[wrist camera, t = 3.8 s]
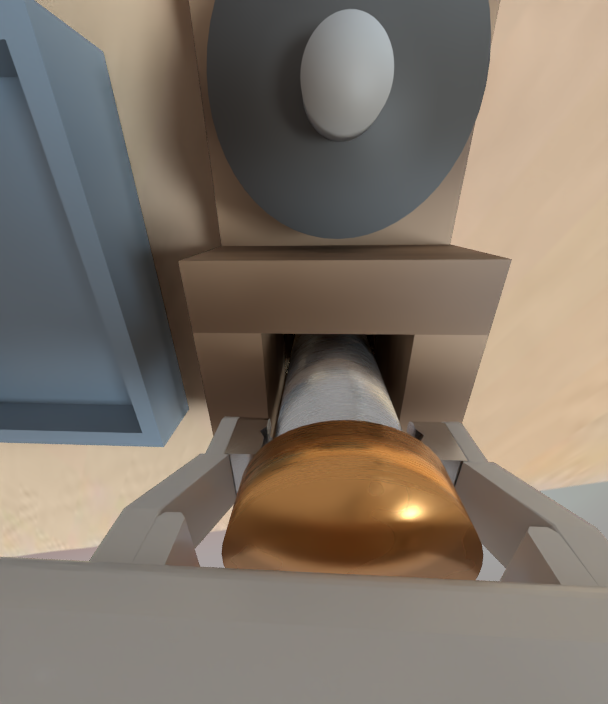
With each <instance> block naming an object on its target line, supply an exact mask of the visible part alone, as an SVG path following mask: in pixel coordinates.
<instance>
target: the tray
mask: <svg viewBox="0 0 608 704" xmlns="http://www.w3.org/2000/svg"><path fill="white" fill-rule="evenodd" d="M188 410H189V407H188V403H187V399H186V395H185V390H184V386H183V382H182V378H181V374H180V370H179V365H178V361H177V357H176V353H175V349H174V345H173V340H172V336H171V332H170V328H169V324H168V320H167V316H166V311H165V307H164V303H163V299H162V295H161V291H160V286H159V282H158V278H157V274H156V270H155V266H154V261H153V257H152V253H151V249H150V245H149V241H148V236H147V232H146V228H145V224H144V220H143V216H142V211H141V207H140V203H139V199H138V195H137V191H136V186H135V182H134V178H133V174H132V170H131V166H130V161H129V157H128V153H127V149H126V145H125V141H124V136H123V132H122V128H121V124H120V120H119V116H118V111H117V107H116V103H115V99H114V95H113V91H112V87H111V82H110V78H109V74H108V70H107V66H106V62H105V57H104V53H103V51H101V50H100V49H99V48H97V47H96V46H95V45H93V44H92V43H91V42H89V41H88V40H87V39H85V38H84V37H83V36H81V35H80V34H79V33H77V32H76V31H75V30H73V29H72V28H71V27H69V26H68V25H67V24H65V23H64V22H63V21H61V20H60V19H59V18H57V17H56V16H55V15H53V14H52V13H51V12H49V11H48V10H47V9H45V8H44V7H42V6H41V5H40V4H38V3H37V2H36V1H34V0H0V442H6V443H41V444H77V445H112V446H147V447H164V446H165V445H166V443H167V442H168V440H169V438H170V437H171V435H172V434H173V432H174V431H175V429H176V428H177V426H178V425H179V423H180V422H181V420H182V419H183V417H184V416H185V414H186V413H187V411H188Z"/></svg>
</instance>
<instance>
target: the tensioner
mask: <svg viewBox="0 0 608 704" xmlns="http://www.w3.org/2000/svg"><path fill="white" fill-rule="evenodd" d="M499 4H500V0H189V7H190V14H191V22H192V29H193V37H194V44H195V52H196V59H197V67H198V74H199V82H200V89H201V96H202V104H203V111H204V119H205V126H206V134H207V141H208V149H209V156H210V164H211V171H212V179H213V186H214V194H215V201H216V209H217V216H218V224H219V231H220V239H221V247H218V248H215V249H212V250H209V251H206V252H203V253H200V254H197V255H194V256H191V257H188V258H185V259H182V260H180V261H178V263H179V268H180V273H181V278H182V283H183V288H184V293H185V298H186V303H187V308H188V313H189V318H190V323H191V327H192V332H193V337H194V342H195V347H196V352H197V357H198V362H199V367H200V372H201V377H202V382H203V387H204V392H205V397H206V401H207V406H208V411H209V416H210V421H211V426H212V431H213V436H214V434H215V432H216V430H217V428H218V426H219V424H220V422H221V420H222V419H223V418H224V417H225V416H226V417H254V418H270V420H271V427H272V428H271V433H270V436H271V438H272V440H273V439H274V438H275V433H276V428H277V423H278V418H279V413H280V408H281V403H282V398H283V393H284V388H285V382H286V377H287V376H285V358H284V337H283V334H376V340H375V349H374V357H375V360H376V363H377V365H378V368H379V371H380V373H381V376H382V378H383V381H384V384H385V386H386V389H387V391H388V394H389V397H390V399H391V402H392V405H393V407H394V410H395V412H396V415H397V418H398V420H399V423H400V425H401V428H402V431H403V432H405V433H407V426H408V424H409V422H460V423H462V421H463V418H464V415H465V412H466V408H467V405H468V402H469V398H470V395H471V392H472V389H473V385H474V382H475V379H476V375H477V372H478V369H479V366H480V362H481V359H482V356H483V352H484V349H485V346H486V342H487V339H488V336H489V333H490V329H491V326H492V323H493V319H494V316H495V313H496V310H497V306H498V303H499V300H500V296H501V293H502V290H503V287H504V283H505V280H506V277H507V273H508V270H509V267H510V264H511V260H512V259H508V258H504V257H500V256H496V255H491V254H487V253H483V252H479V251H475V250H471V249H467V248H462V247H458V246H454V245H450V242H451V238H452V233H453V228H454V223H455V218H456V213H457V208H458V204H459V199H460V194H461V189H462V184H463V179H464V174H465V169H466V165H467V160H468V155H469V150H470V145H471V140H472V135H473V131H474V126H475V121H476V118H477V115H478V113H479V110H480V106H481V102H482V99H483V95H484V91H485V87H486V81H487V75H488V69H489V62H490V48H491V43H492V38H493V33H494V29H495V24H496V19H497V14H498V9H499Z"/></svg>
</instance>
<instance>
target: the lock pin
mask: <svg viewBox="0 0 608 704" xmlns="http://www.w3.org/2000/svg"><path fill="white" fill-rule="evenodd" d="M222 558H223V564H224V566H225V568H235V569H255V570H275V571H295V572H315V573H336V574H356V575H377V576H397V577H418V578H438V579H458V580H476V578H477V577H478V575H479V572H480V570H481V567H482V561H483V550H482V544H481V541H480V539H479V536H478V534H477V532H476V530H475V528H474V526H473V524H472V522H471V520H470V518H469V516H468V514H467V512H466V510H465V507H464V505H463V503H462V501H461V499H460V497H459V495H458V493H457V491H456V489H455V487H454V485H453V483H452V481H451V479H450V477H449V475H448V473H447V471H446V469H445V467H444V465H443V464H442V462H441V461H440V459H439V458H438V457H437V456H436V454H435V453H434V452H433V451H432V450H431V449H430V448H429V447H427V446H426V445H425V444H423V443H422V442H421V441H419V440H418V439H416V438H414V437H413V436H411V435H409V434H407V433H405V432H403V431H402V428H401V425H400V423H399V420H398V418H397V415H396V412H395V410H394V407H393V405H392V402H391V399H390V397H389V394H388V391H387V389H386V386H385V384H384V381H383V378H382V376H381V373H380V371H379V368H378V365H377V363H376V360H375V357H374V355H373V352H372V350H371V347H370V344H369V342H368V339H367V337H366V334H295V337H294V342H293V347H292V352H291V357H290V362H289V367H288V372H287V377H286V382H285V388H284V393H283V398H282V403H281V408H280V413H279V418H278V423H277V428H276V433H275V438H274V439H273V440H271V441H270V442H268V443H267V444H265V445H264V446H263V447H262V448H261V449H260V450H259V451H257V452H256V454H255V455H254V456H253V457H252V459H251V460H250V461H249V463H248V465H247V466H246V468H245V470H244V473H243V476H242V479H241V482H240V486H239V489H238V493H237V496H236V500H235V503H234V506H233V510H232V513H231V517H230V520H229V524H228V527H227V530H226V534H225V537H224V541H223V545H222Z"/></svg>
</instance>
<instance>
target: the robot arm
mask: <svg viewBox="0 0 608 704" xmlns="http://www.w3.org/2000/svg"><path fill="white" fill-rule="evenodd" d="M271 428H272V427H271V420H270V418H254V417H226V416H225V417H224V418H223V419H222V420H221V422H220V424H219V426H218V428H217V430H216V432H215V434H214V437H213V439H212V441H211V443H210V445H209V447H208V449H207V451H206V453H205V454H199V455H198V456H197V457H195V458H194V459H192V460H191V461H190V462H188V463H187V464H185V465H184V466H183V467H181V468H180V469H178V470H177V471H176V472H174V473H173V474H171V475H170V476H169V477H167V478H166V479H164V480H163V481H162V482H160V483H159V484H157V485H156V486H155V487H153V488H152V489H150V490H149V491H148V492H146V493H145V494H143V495H142V496H141V497H139V498H138V499H136V500H135V501H134V502H132V503H131V504H129V505H128V506H127V507H125V508H124V509H123V511H122V512H121V514H120V515H119V517H118V518H117V520H116V521H115V523H114V524H113V526H112V527H111V529H110V530H109V532H108V533H107V535H106V536H105V538H104V539H103V541H102V542H101V544H100V545H99V547H98V548H97V550H96V551H95V553H94V554H93V556H92V557H91V559H90V560H89V561H74V560H55V559H35V558H15V557H0V704H608V540H607V539H606V538H605V537H604V536H603V535H602V533H601V532H600V531H599V530H598V529H597V528H596V527H594V526H593V525H591V524H590V523H588V522H587V521H585V520H584V519H582V518H580V517H579V516H577V515H576V514H574V513H572V512H571V511H569V510H568V509H566V508H565V507H563V506H562V505H560V504H558V503H557V502H555V501H554V500H552V499H550V498H549V497H547V496H546V495H544V494H543V493H541V492H540V491H538V490H536V489H535V488H533V487H532V486H530V485H529V484H527V483H526V482H524V481H522V480H521V479H519V478H518V477H516V476H515V475H513V474H511V473H510V472H508V471H507V470H505V469H504V468H502V467H500V466H499V465H497V464H496V463H494V462H488V461H487V459H486V458H485V456H484V455H483V453H482V452H481V450H480V449H479V448H478V446H477V445H476V443H475V442H474V440H473V439H472V437H471V436H470V435H469V433H468V432H467V430H466V429H465V427H464V426H463V424H462V423H460V422H409V424H408V426H407V434H409V435H411V436H413V437H414V438H416V439H418V440H419V441H421V442H422V443H423V444H425V445H426V446H427V447H429V448H430V449H431V450H432V451H433V452H434V453H435V454H436V456H437V457H438V458H439V459H440V461H441V462H442V464H443V465H444V467H445V469H446V471H447V473H448V475H449V477H450V479H451V481H452V483H453V485H454V487H455V489H456V491H457V493H458V495H459V497H460V499H461V501H462V503H463V505H464V507H465V510H466V512H467V514H468V516H469V518H470V520H471V522H472V524H473V526H474V528H475V530H476V532H477V534H478V536H479V539H480V541H481V543H482V544H483V545H484V546H485V547H486V548H487V549H488V550H489V551H490V553H492V554H493V556H494V557H495V558H496V559H497V560H498V561H499V562H500V563H501V564H502V565H503V566H504V567H505V568H506V570H505V572H504V574H503V576H502V578H501V579H500V581H498V582H497V581H476V580H458V579H438V578H418V577H397V576H377V575H356V574H336V573H315V572H295V571H275V570H255V569H235V568H214V567H200V565H199V562H198V559H197V555H196V552H195V548H196V547H197V546H198V545H199V543H200V542H201V541H202V540H203V539H204V538H205V537H206V535H207V534H208V533H209V532H210V531H211V530H212V529H213V527H214V526H215V525H216V524H217V523H218V522H219V520H220V519H221V518H222V517H223V516H224V515H225V514H226V512H227V511H228V510H229V509H230V508H231V507H232V505H233V504H234V503H235V500H236V496H237V493H238V489H239V486H240V482H241V479H242V476H243V473H244V470H245V468H246V466H247V465H248V463H249V461H250V460H251V459H252V457H253V456H254V455H255V454H256V452H257V451H259V450H260V449H261V448H262V447H263V446H264V445H265V444H267V443H268V442H270V441H271V440H272V438H271V436H270V433H271Z"/></svg>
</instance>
